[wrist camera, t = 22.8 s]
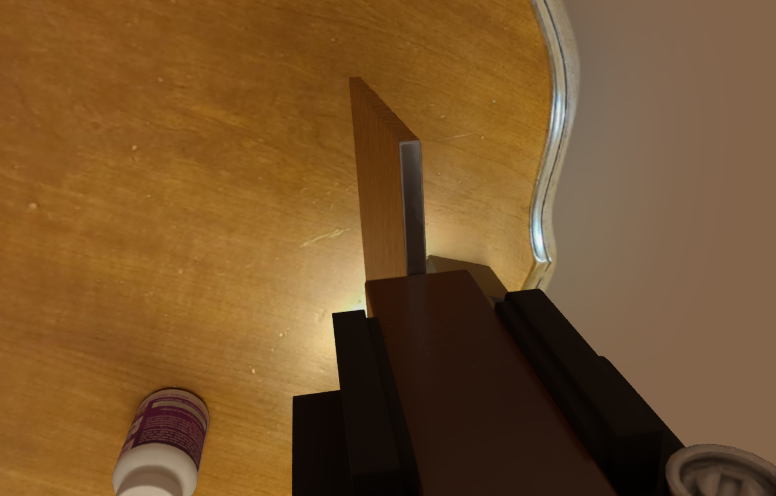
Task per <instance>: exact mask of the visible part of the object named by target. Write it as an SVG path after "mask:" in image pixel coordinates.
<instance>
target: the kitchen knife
mask: <svg viewBox="0 0 776 496" xmlns="http://www.w3.org/2000/svg"><path fill="white" fill-rule="evenodd" d="M349 86H350V98H351V110H352V122H353V134H354V145H355V157H356V169H357V181H358V193H359V205H360V217H361V228H362V240H363V252H364V264H365V276H366V282H365V294H366V305H367V317H376V316H378V319H379V322H380V326H381V330H382V333H383V337H384V341H385V345H386V348H387V352H388V356H389V359H390V363H391V367H392V371H393V374H394V378H395V382H396V385H397V389H398V393H399V397H400V400H401V404H402V408H403V411H404V415H405V419H406V423H407V426H408V430H409V434H410V437H411V441H412V445H413V449H414V453H415V457H416V463H417V469H418V476H419V485H418V487H417V496H619V495H618V493H617V492H616V490H615V489H614V487H613V486H612V484H611V483H610V481H609V480H608V478H607V477H606V475H605V474H604V472H603V471H602V469H601V468H600V466H599V465H598V463H597V462H596V460H595V459H593V458H592V456H591V455H590V453H589V452H588V450H587V449H586V447H585V446H584V444H583V443H582V441H581V440H580V438H579V436H578V435H577V433H576V432H575V430H574V429H573V427H572V426H571V424H570V423H569V421H568V420H567V418H566V417H565V415H564V414H563V412H562V411H561V409H560V408H559V406H558V405H557V403H556V402H555V400H554V399H553V397H552V396H551V394H550V393H549V391H548V389H547V388H546V386H545V385H544V383H543V382H542V380H541V379H540V377H539V376H538V374H537V373H536V371H535V370H534V368H533V367H532V365H531V364H530V362H529V361H528V359H527V358H526V356H525V355H524V353H523V352H522V350H521V349H520V347H519V346H518V344H517V342H516V341H515V339H514V338H513V336H512V335H511V333H510V332H509V330H508V329H507V327H506V326H505V324H504V323H503V321H502V320H501V318H500V317H499V315H498V314H497V312H496V311H495V309H494V307H493V305H492V304H491V302H490V301H489V299H488V298H487V296H486V295H485V293H484V292H483V290H482V289H481V287H480V286H479V284H478V283H477V281H476V280H475V278H474V277H473V275H472V274H471V272H470V271H469V270H468V269H463V270H454V271H445V272H437V273H428V274H427V260H426V238H425V217H424V195H423V173H422V152H421V141H420V140H419V139H418V138H417V136H416V135H415V134H414V133H413V132H412V131H411V130H410V129H409V128H408V127H407V126H406V125H405V124H404V123H403V122H402V121H401V119H400V118H399V117H398V116H397V115H396V114H395V113H394V112H393V111H392V110H391V109H390V108H389V107H388V106H387V105H386V104H385V103H384V101H383V100H382V99H381V98H380V97H379V96H378V95H377V94H376V93H375V92H374V91H373V90H372V89H371V88H370V87H369V86H368V84H367V83H366V82H365V81H364V80H363V79H362V78H361V77H350V78H349Z"/></svg>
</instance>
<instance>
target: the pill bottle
mask: <svg viewBox="0 0 776 496" xmlns="http://www.w3.org/2000/svg"><path fill="white" fill-rule="evenodd" d="M208 426H209V414H208V411H207V409H206V406H205V405H204V404H203V402H202V401H201V400H200V399H198V398H197V397H196V396H194V395H193V394H191V393H189V392H186V391H182V390H175V389H169V390H162V391H159V392H156V393H154V394H152V395H150V396H149V397H148V398H146V399H145V400H144V401H143V402H142V404H141V405H140V406H139V408H138V411H137V413H136V415H135V418H134V420H133V422H132V425H131V428H130V430H129V433H128V435H127V438H126V440H125V443H124V445H123V448H122V450H121V453H120V455H119V458H118V461H117V463H116V466H115V469H114V472H113V487H114V491H115V493H116V496H192V494H193V492H194V490H195V488H196V485H197V481H198V476H199V471H200V466H201V460H202V455H203V450H204V445H205V440H206V435H207V430H208Z"/></svg>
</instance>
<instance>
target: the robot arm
mask: <svg viewBox="0 0 776 496" xmlns="http://www.w3.org/2000/svg"><path fill="white" fill-rule="evenodd" d="M494 309H495V311H496V312H497V314H498V315H499V317H500V318H501V320H502V321H503V323H504V324H505V326H506V327H507V329H508V330H509V332H510V333H511V335H512V336H513V338H514V339H515V341H516V342H517V344H518V346H519V347H520V349H521V350H522V352H523V353H524V355H525V356H526V358H527V359H528V361H529V362H530V364H531V365H532V367H533V368H534V370H535V371H536V373H537V374H538V376H539V377H540V379H541V380H542V382H543V383H544V385H545V386H546V388H547V389H548V391H549V393H550V394H551V396H552V397H553V399H554V400H555V402H556V403H557V405H558V406H559V408H560V409H561V411H562V412H563V414H564V415H565V417H566V418H567V420H568V421H569V423H570V424H571V426H572V427H573V429H574V430H575V432H576V433H577V435H578V436H579V438H580V440H581V441H582V443H583V444H584V446H585V447H586V449H587V450H588V452H589V453H590V455H591V456H592V458H593V459H595V460H596V462H597V463H598V465H599V466H600V468H601V469H602V471H603V472H604V474H605V475H606V477H607V478H608V480H609V481H610V483H611V484H612V486H613V487H614V489H615V490H616V492H617V493H618V495H619V496H776V466H775V465H773V464H772V463H770V462H769V461H767V460H765V459H763V458H761V457H759V456H757V455H755V454H753V453H750V452H747V451H744V450H741V449H737V448H734V447H730V446H723V445H717V444H700V445H693V446H689V447H685V446H684V445H683V444H682V443H681V442H680V440H679V439H678V438H677V437H676V436H675V435H674V434H673V432H672V431H671V430H670V429H669V428H668V427H667V426H666V424H665V423H664V422H663V421H662V420H661V419H660V418H659V416H658V415H657V414H656V413H655V412H654V411H653V410H652V409H651V407H650V406H649V405H648V404H647V403H646V402H645V401H644V400H643V398H642V397H641V396H640V395H639V394H638V393H637V392H636V390H635V389H634V388H633V387H632V386H631V385H630V384H629V383H628V381H627V380H626V379H625V378H624V377H623V376H622V375H621V374H620V372H619V371H618V370H617V369H616V368H615V367H614V366H613V365H612V364H611V362H610V361H609V360H608V359H606V358H605V357H603V356H598V355H597V354H596V353H595V351H594V350H593V349H592V348H591V347H590V346H589V344H588V343H587V342H586V341H585V340H584V339H583V337H582V336H581V335H580V334H579V333H578V332H577V331H576V329H575V328H574V327H573V326H572V325H571V324H570V322H569V321H568V320H567V319H566V318H565V317H564V316H563V314H562V313H561V312H560V311H559V310H558V309H557V308H556V306H555V305H554V304H553V303H552V302H551V301H550V300H549V298H548V297H547V296H546V295H545V294H544V292H543V291H542V290H540V289H531V290H522V291H514V292H507V293H506V294H505V298H504V301H500V302H496V303H495V307H494ZM332 318H333V327H334V337H335V346H336V355H337V364H338V374H339V383H340V390H336V391H329V392H321V393H314V394H306V395H299V396H293V422H292V496H417V487H418V485H419V476H418V469H417V463H416V457H415V453H414V449H413V445H412V441H411V437H410V434H409V430H408V426H407V423H406V419H405V415H404V411H403V408H402V404H401V400H400V397H399V393H398V389H397V385H396V382H395V378H394V374H393V371H392V367H391V363H390V359H389V356H388V352H387V348H386V345H385V341H384V337H383V333H382V330H381V326H380V322H379V319H378V316H376V317H368V318H366V315H365V311H364V310H355V311H347V312H338V313H332Z"/></svg>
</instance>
